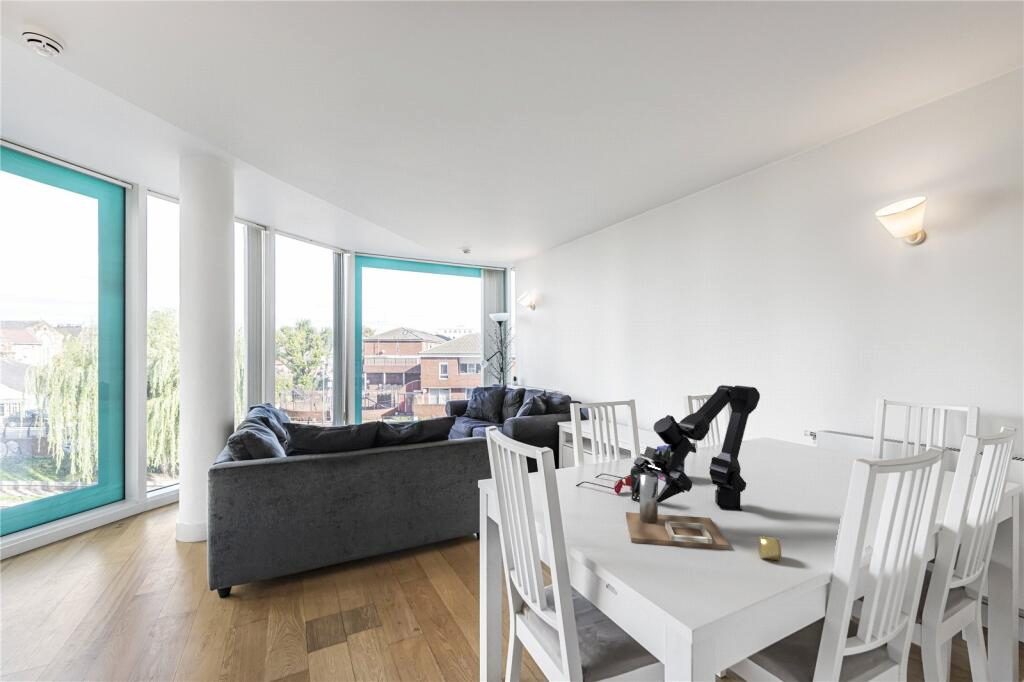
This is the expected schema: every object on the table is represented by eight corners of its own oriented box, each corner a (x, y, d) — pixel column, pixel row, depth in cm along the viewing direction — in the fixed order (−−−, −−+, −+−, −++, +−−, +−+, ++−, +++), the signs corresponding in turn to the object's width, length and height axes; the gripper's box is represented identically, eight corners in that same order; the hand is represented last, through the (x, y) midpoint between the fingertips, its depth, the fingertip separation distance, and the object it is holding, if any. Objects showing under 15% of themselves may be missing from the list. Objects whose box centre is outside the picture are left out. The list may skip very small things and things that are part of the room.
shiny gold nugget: (758, 531, 114) (776, 533, 113) (757, 549, 115) (775, 551, 114) (762, 544, 110) (781, 546, 108) (761, 562, 111) (780, 565, 109)
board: (710, 521, 134) (710, 513, 134) (728, 549, 116) (728, 540, 116) (625, 516, 138) (625, 508, 138) (631, 542, 120) (631, 533, 120)
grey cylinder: (656, 517, 134) (656, 472, 134) (659, 524, 129) (659, 478, 129) (638, 516, 135) (639, 472, 135) (640, 522, 130) (641, 477, 130)
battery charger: (628, 500, 151) (629, 466, 151) (632, 497, 154) (632, 463, 154) (649, 505, 147) (650, 469, 147) (653, 501, 150) (653, 466, 150)
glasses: (616, 497, 155) (617, 482, 155) (575, 486, 166) (575, 473, 166) (635, 487, 166) (635, 473, 166) (595, 478, 177) (595, 465, 177)
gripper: (638, 430, 142) (609, 470, 137) (685, 443, 125) (653, 489, 120) (657, 453, 145) (630, 493, 141) (705, 469, 129) (675, 514, 124)
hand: (645, 496), depth 131 cm, fingers open, 9 cm apart
